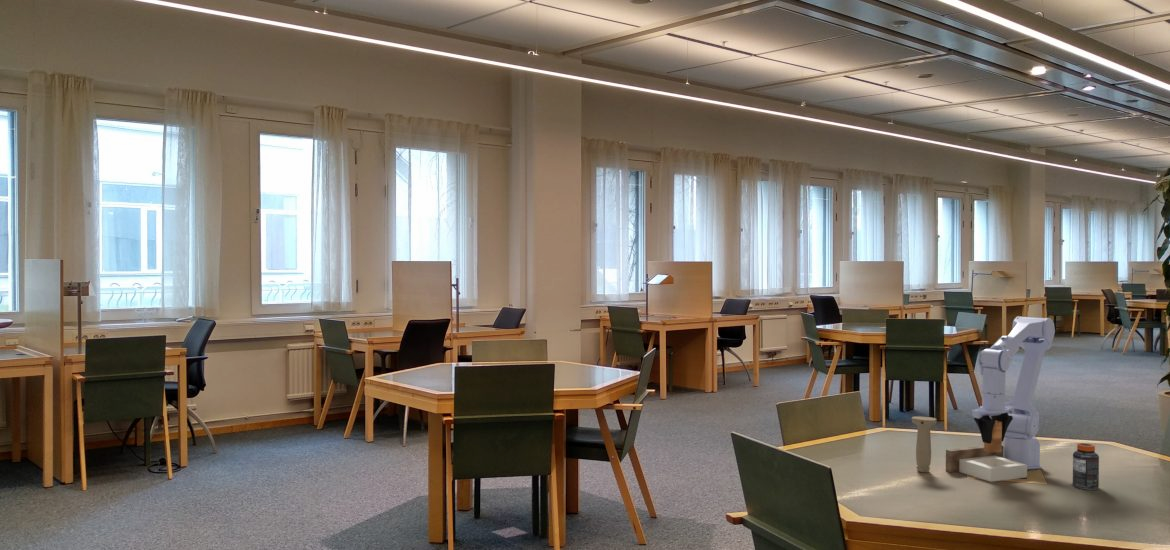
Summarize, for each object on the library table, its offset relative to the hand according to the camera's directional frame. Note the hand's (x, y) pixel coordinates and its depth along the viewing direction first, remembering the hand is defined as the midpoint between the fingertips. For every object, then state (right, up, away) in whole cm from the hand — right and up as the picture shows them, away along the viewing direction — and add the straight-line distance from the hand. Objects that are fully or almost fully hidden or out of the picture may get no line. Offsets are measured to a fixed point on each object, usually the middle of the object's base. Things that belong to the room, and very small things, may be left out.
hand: (992, 441), depth 236 cm
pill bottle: (+19, -10, -11) cm, 24 cm away
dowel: (0, -2, 0) cm, 2 cm away
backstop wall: (-2, -9, +7) cm, 12 cm away
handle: (-18, -9, +4) cm, 20 cm away
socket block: (0, -9, +1) cm, 9 cm away
